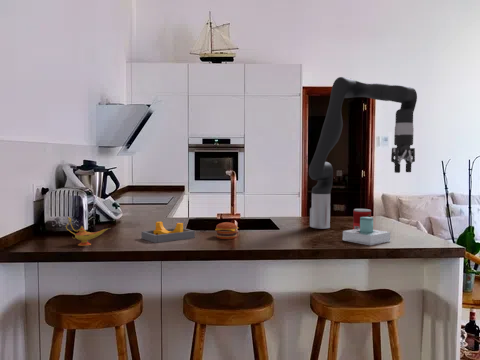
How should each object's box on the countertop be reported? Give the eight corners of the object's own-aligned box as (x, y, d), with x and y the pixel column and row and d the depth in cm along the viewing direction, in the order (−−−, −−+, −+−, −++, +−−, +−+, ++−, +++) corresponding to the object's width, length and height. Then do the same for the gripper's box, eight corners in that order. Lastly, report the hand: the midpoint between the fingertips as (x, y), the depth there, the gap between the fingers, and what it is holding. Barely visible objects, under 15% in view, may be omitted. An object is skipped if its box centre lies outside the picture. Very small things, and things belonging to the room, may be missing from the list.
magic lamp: (107, 246, 177) (107, 218, 176) (62, 246, 177) (62, 218, 177) (113, 243, 184) (113, 216, 183) (69, 242, 184) (69, 215, 184)
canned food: (371, 234, 208) (371, 210, 208) (353, 233, 210) (353, 210, 209) (369, 231, 216) (370, 208, 215) (352, 231, 217) (353, 208, 217)
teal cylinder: (357, 240, 192) (357, 217, 192) (364, 239, 196) (365, 216, 195) (367, 242, 188) (368, 218, 188) (375, 241, 192) (375, 217, 191)
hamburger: (218, 235, 205) (218, 220, 204) (239, 236, 203) (239, 221, 202) (213, 238, 195) (213, 223, 195) (235, 239, 194) (235, 224, 193)
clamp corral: (141, 238, 194) (141, 231, 194) (180, 233, 207) (180, 227, 206) (155, 242, 185) (155, 235, 185) (194, 237, 197) (194, 230, 197)
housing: (342, 240, 193) (342, 231, 193) (362, 236, 202) (362, 227, 202) (370, 245, 182) (370, 235, 182) (390, 241, 191) (390, 232, 191)
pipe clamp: (153, 237, 195) (153, 222, 195) (158, 235, 200) (158, 221, 199) (178, 239, 192) (178, 224, 191) (183, 237, 196) (183, 223, 195)
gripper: (405, 135, 198) (404, 171, 198) (386, 133, 189) (385, 172, 189) (421, 134, 192) (420, 172, 193) (402, 133, 183) (401, 173, 184)
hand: (402, 172), depth 191 cm, fingers open, 8 cm apart
